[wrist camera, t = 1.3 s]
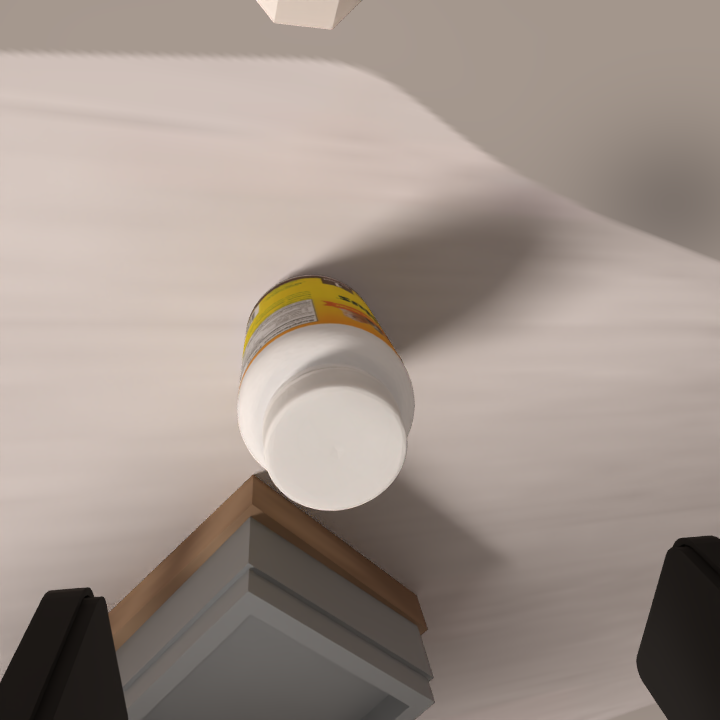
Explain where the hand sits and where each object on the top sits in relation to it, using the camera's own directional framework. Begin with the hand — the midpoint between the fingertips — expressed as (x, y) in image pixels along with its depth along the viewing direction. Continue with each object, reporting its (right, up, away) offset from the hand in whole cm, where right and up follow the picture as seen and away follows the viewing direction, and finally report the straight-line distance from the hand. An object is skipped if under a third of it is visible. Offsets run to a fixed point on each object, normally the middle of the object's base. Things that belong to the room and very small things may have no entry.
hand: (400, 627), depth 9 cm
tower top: (-5, -10, +18) cm, 21 cm away
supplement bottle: (-3, +6, +15) cm, 17 cm away
